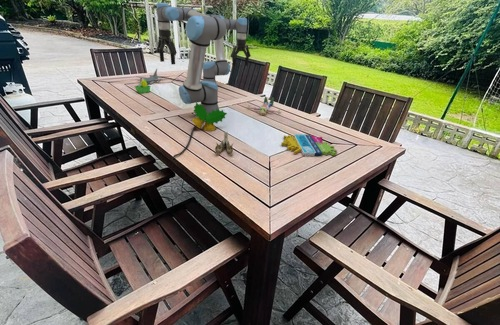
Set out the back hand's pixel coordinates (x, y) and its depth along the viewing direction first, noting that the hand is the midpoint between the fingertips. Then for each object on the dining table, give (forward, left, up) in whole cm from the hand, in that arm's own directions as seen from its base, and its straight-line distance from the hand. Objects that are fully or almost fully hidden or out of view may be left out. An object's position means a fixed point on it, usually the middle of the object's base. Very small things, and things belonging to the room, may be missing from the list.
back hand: (240, 65), depth 227 cm
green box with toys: (-56, -62, -25) cm, 87 cm away
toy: (+43, -16, -25) cm, 52 cm away
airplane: (-82, -40, -25) cm, 95 cm away
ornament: (+43, -75, -25) cm, 90 cm away
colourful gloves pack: (+99, -50, -25) cm, 114 cm away
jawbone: (+72, -90, -25) cm, 118 cm away
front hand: (-12, -65, +5) cm, 66 cm away
